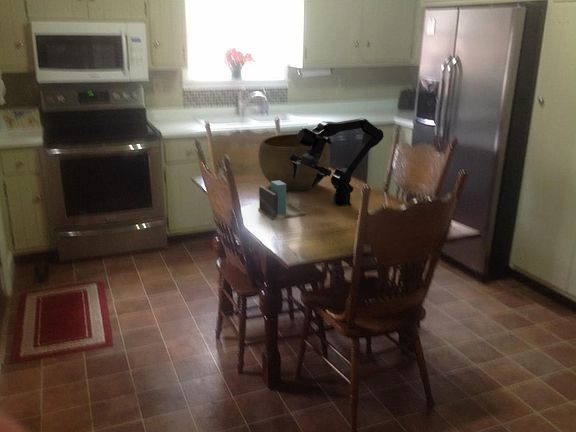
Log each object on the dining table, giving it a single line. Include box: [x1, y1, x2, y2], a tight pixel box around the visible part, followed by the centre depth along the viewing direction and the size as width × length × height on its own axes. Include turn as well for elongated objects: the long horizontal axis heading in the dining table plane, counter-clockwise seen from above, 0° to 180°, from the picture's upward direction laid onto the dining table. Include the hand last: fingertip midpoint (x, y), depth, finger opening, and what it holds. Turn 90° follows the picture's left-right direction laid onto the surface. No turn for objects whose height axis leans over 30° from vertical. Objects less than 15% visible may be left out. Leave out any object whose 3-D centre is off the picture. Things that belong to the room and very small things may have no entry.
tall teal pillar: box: [270, 180, 287, 215], centre depth 235 cm, size 4×6×13 cm, turn 28°
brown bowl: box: [258, 133, 331, 192], centre depth 274 cm, size 35×35×25 cm
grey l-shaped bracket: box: [257, 185, 306, 221], centre depth 237 cm, size 16×14×11 cm
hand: (303, 183), depth 241 cm, fingers open, 9 cm apart
